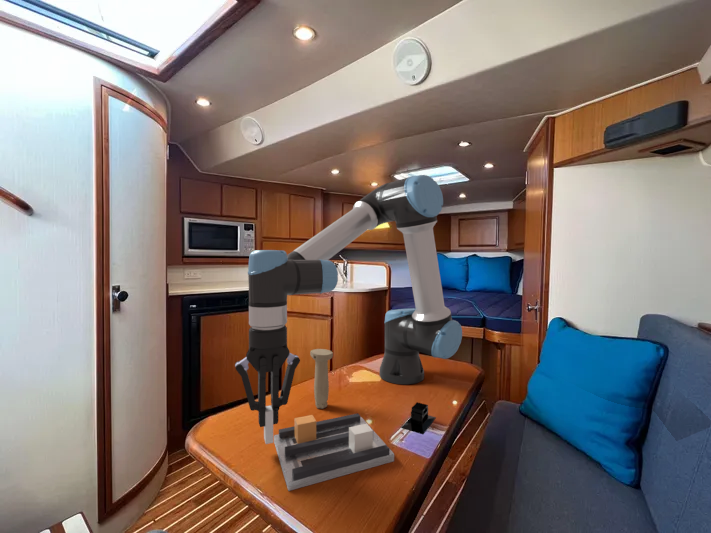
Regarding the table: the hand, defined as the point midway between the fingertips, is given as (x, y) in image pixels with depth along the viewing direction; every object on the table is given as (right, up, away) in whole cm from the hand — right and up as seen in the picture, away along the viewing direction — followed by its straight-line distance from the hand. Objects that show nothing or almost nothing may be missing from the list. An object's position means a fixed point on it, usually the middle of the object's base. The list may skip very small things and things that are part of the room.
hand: (268, 439), depth 65 cm
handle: (+9, -3, +21) cm, 23 cm away
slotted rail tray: (+13, -2, +1) cm, 13 cm away
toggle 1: (+7, -1, +3) cm, 8 cm away
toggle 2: (+19, -1, -1) cm, 19 cm away
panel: (+13, -3, +1) cm, 13 cm away
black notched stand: (+34, -4, +13) cm, 36 cm away
